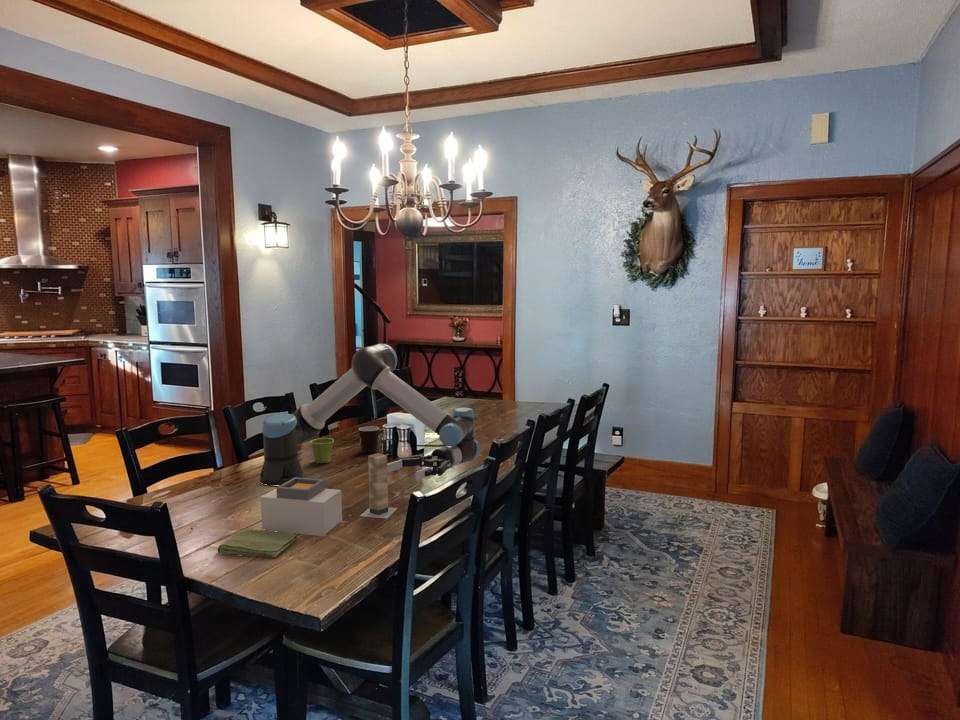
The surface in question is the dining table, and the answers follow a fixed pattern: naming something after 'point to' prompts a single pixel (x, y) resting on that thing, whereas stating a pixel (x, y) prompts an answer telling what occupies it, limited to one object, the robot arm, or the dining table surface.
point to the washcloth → (257, 543)
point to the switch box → (302, 508)
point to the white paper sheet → (384, 515)
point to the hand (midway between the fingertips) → (401, 472)
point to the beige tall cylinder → (378, 483)
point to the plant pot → (322, 449)
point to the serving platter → (431, 436)
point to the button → (301, 485)
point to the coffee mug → (369, 439)
